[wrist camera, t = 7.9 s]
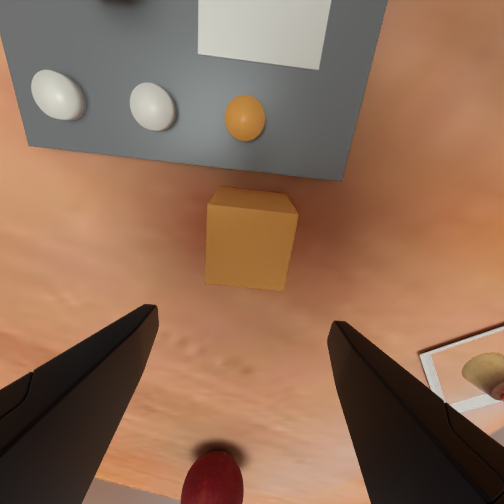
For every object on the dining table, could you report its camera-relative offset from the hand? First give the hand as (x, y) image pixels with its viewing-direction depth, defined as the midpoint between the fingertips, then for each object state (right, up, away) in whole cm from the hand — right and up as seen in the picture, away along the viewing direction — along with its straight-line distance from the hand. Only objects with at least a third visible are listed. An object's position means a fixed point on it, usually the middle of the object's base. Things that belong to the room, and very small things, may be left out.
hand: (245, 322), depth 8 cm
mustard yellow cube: (0, +5, +11) cm, 12 cm away
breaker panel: (-3, +15, +6) cm, 17 cm away
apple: (-5, -26, +25) cm, 36 cm away
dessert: (+26, -10, +18) cm, 33 cm away
